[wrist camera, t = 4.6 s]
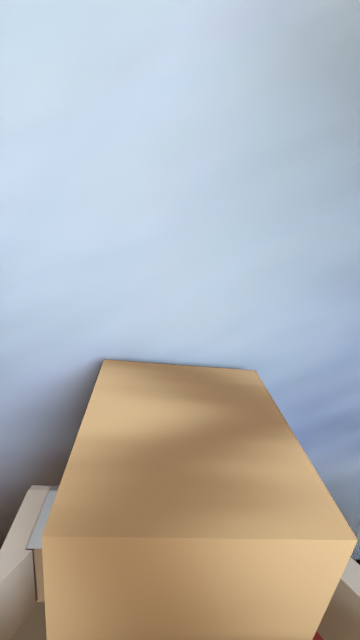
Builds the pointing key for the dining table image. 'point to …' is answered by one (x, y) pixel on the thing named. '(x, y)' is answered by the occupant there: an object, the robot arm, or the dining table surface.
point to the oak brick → (189, 515)
